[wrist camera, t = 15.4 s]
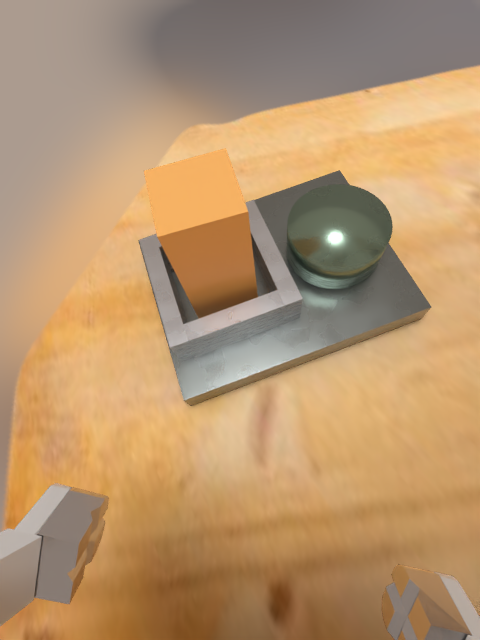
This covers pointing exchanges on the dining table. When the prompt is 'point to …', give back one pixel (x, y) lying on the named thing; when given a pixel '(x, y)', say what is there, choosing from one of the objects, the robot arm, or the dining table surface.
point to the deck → (291, 289)
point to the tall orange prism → (204, 230)
